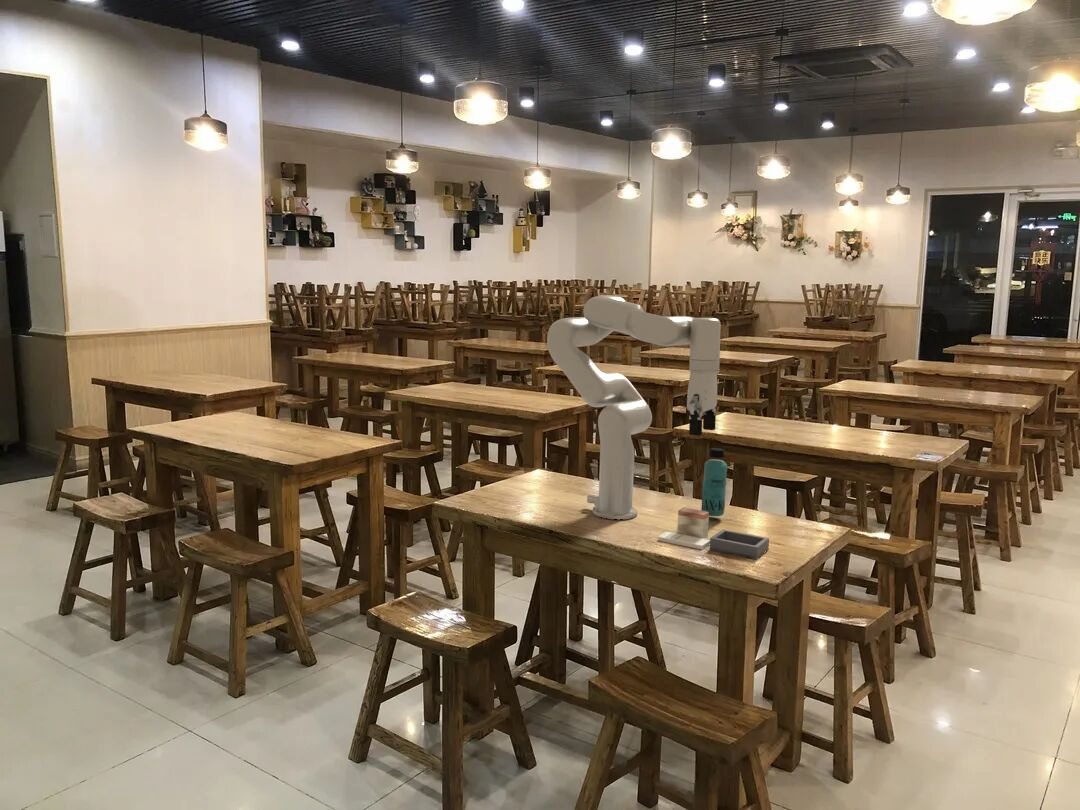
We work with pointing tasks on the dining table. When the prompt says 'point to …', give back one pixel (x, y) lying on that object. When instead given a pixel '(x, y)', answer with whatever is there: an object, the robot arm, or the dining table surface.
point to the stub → (693, 522)
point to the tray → (739, 544)
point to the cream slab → (684, 540)
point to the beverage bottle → (714, 484)
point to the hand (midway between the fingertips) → (702, 432)
